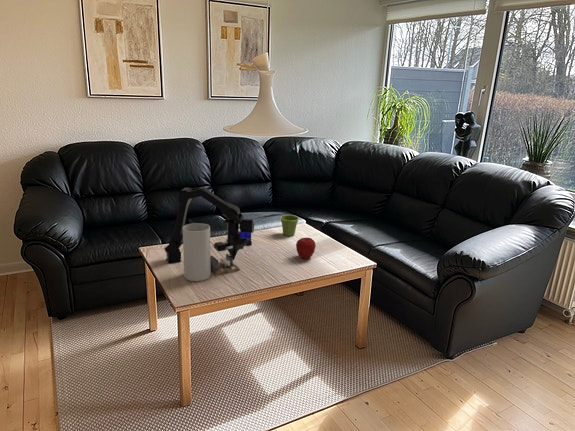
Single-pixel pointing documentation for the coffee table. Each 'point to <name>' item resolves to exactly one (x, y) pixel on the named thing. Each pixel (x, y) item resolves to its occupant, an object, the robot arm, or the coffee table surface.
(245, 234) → the puzzle cube
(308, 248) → the apple
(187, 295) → the coffee table surface
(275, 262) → the coffee table surface
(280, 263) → the coffee table surface
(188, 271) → the cylinder vase
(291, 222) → the plant pot
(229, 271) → the gauge stand
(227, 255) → the gauge carriage
